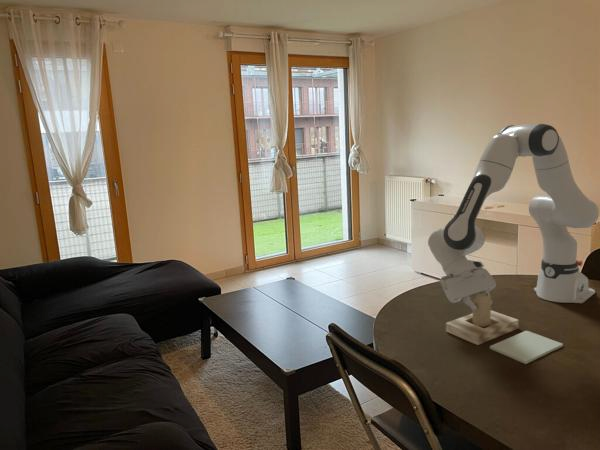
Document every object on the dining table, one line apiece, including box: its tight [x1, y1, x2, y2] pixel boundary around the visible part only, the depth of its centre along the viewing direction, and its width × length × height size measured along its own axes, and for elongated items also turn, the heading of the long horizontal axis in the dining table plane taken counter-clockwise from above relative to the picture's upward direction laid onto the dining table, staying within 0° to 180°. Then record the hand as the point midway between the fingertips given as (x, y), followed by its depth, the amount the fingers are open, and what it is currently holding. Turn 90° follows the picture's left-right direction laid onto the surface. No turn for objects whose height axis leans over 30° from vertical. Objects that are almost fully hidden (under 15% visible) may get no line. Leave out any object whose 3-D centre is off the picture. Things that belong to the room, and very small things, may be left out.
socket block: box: [445, 309, 520, 346], centre depth 155 cm, size 20×13×3 cm, turn 120°
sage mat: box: [489, 330, 564, 365], centre depth 141 cm, size 18×12×1 cm, turn 120°
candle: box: [472, 294, 492, 328], centre depth 154 cm, size 6×6×10 cm
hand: (483, 306), depth 153 cm, fingers closed on candle, 5 cm apart
